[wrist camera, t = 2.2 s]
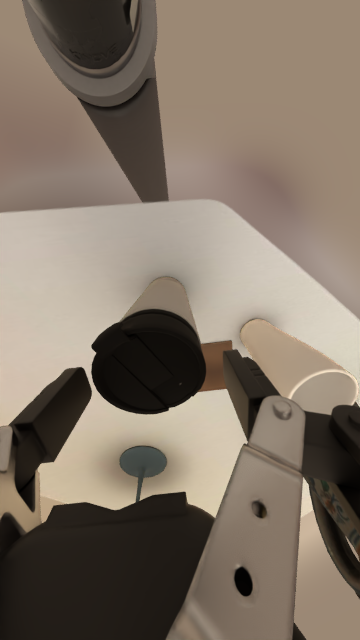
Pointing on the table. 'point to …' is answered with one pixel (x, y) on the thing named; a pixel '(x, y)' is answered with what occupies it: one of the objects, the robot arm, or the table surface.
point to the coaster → (214, 365)
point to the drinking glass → (299, 369)
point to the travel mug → (151, 353)
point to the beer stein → (336, 530)
